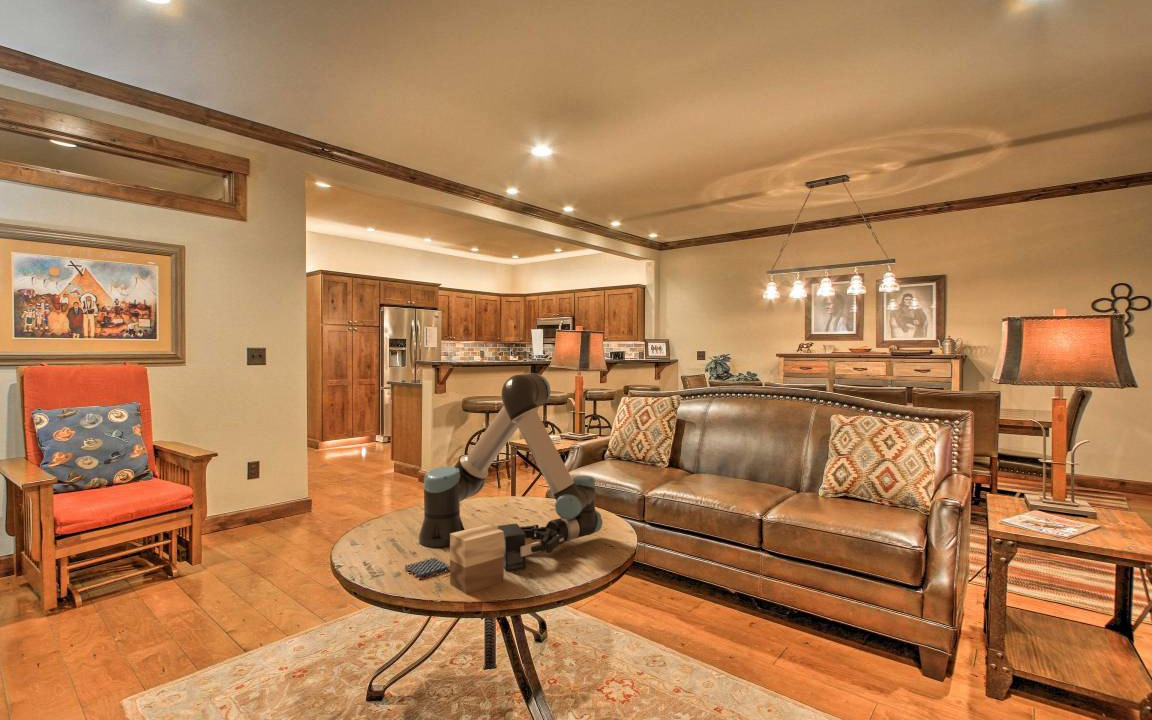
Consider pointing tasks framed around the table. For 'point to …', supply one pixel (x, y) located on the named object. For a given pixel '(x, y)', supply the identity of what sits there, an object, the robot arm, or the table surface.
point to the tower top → (476, 545)
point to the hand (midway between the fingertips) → (507, 545)
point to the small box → (513, 547)
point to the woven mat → (427, 568)
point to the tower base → (476, 575)
